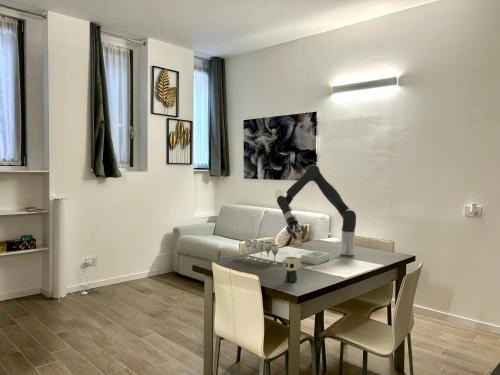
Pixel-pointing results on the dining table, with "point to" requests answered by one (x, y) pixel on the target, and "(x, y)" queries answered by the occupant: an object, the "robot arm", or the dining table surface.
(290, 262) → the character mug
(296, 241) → the pepper mill
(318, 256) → the bin
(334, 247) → the dining table surface
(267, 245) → the goblet set
